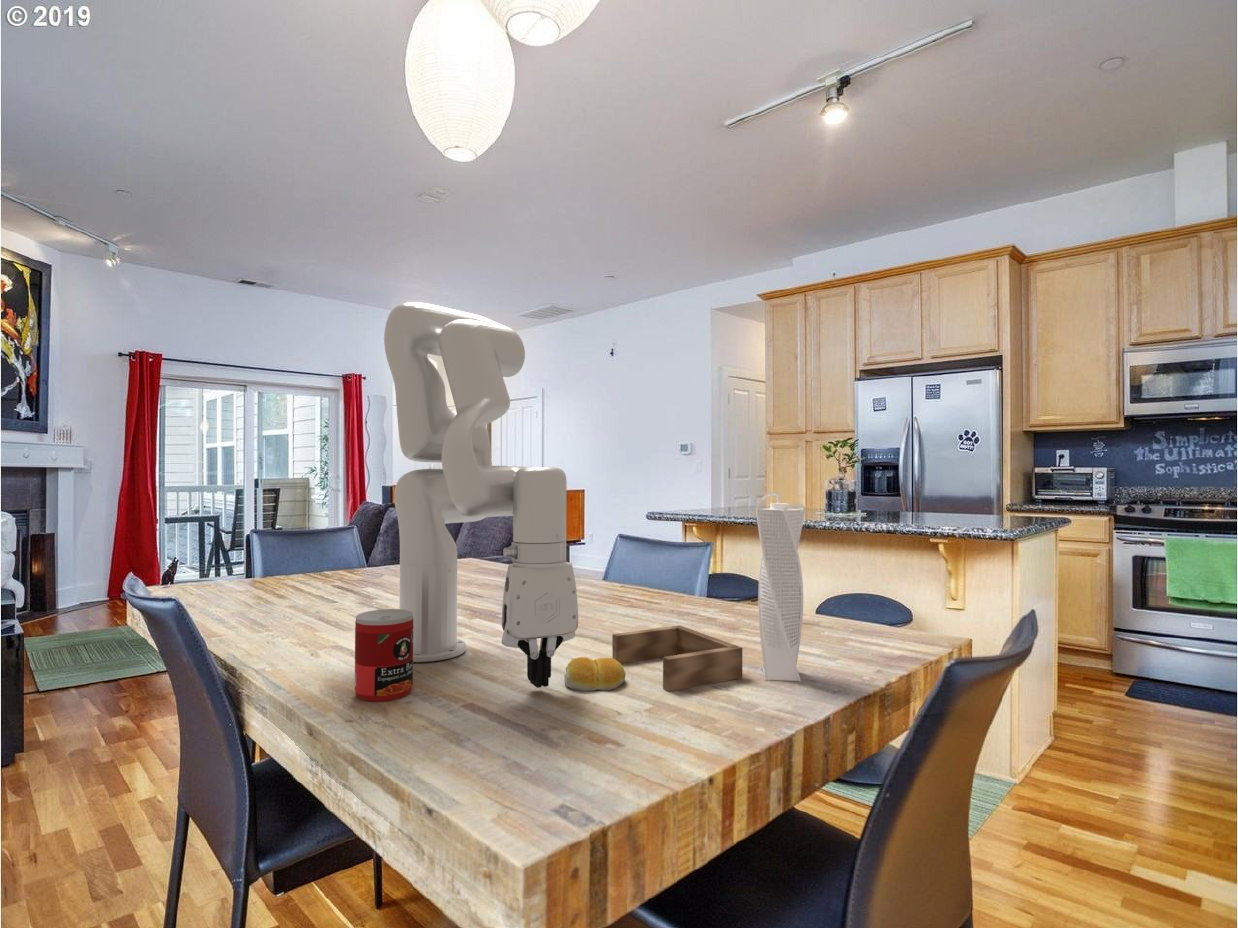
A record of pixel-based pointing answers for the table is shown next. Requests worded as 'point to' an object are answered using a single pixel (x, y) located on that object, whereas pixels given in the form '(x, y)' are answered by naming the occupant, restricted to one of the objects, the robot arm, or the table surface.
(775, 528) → the skyscraper
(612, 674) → the bread roll
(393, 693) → the canned food
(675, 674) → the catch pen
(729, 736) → the table surface
